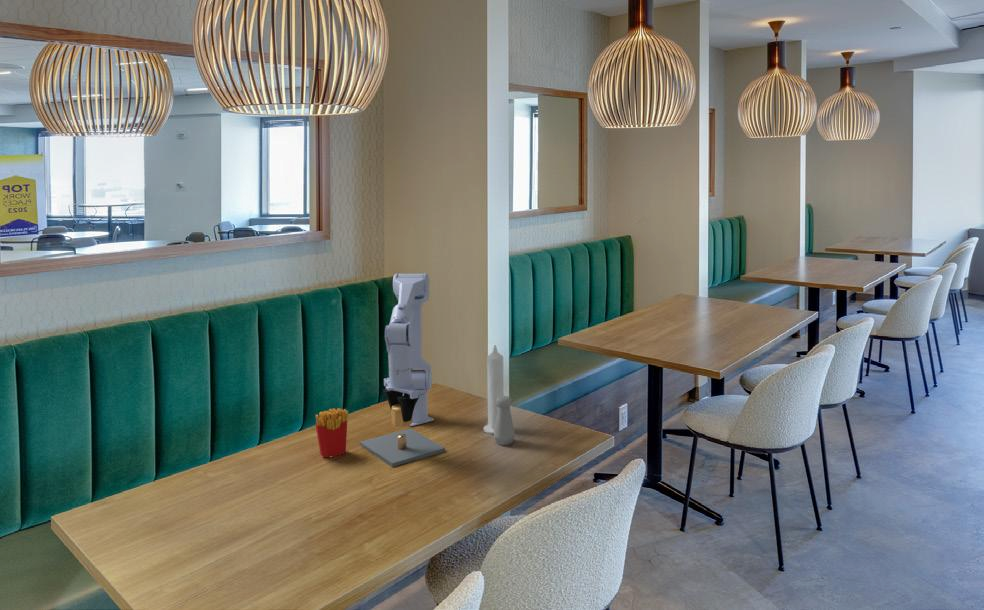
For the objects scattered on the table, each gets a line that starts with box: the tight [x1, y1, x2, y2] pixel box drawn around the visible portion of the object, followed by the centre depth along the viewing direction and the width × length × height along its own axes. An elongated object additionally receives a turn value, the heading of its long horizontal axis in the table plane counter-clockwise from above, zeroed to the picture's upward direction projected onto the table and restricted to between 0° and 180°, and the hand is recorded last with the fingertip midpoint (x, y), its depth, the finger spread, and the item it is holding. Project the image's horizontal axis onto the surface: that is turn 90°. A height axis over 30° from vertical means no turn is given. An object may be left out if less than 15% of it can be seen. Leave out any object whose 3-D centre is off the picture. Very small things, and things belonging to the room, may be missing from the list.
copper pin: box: [397, 434, 407, 450], centre depth 197 cm, size 2×2×4 cm
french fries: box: [314, 407, 349, 458], centre depth 195 cm, size 8×4×12 cm, turn 118°
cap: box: [390, 404, 413, 427], centre depth 196 cm, size 5×5×4 cm
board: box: [358, 428, 446, 468], centre depth 200 cm, size 18×16×1 cm
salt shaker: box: [493, 395, 516, 446], centre depth 201 cm, size 6×6×13 cm
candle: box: [483, 344, 505, 435], centre depth 210 cm, size 7×7×25 cm
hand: (401, 417), depth 196 cm, fingers closed on cap, 5 cm apart
